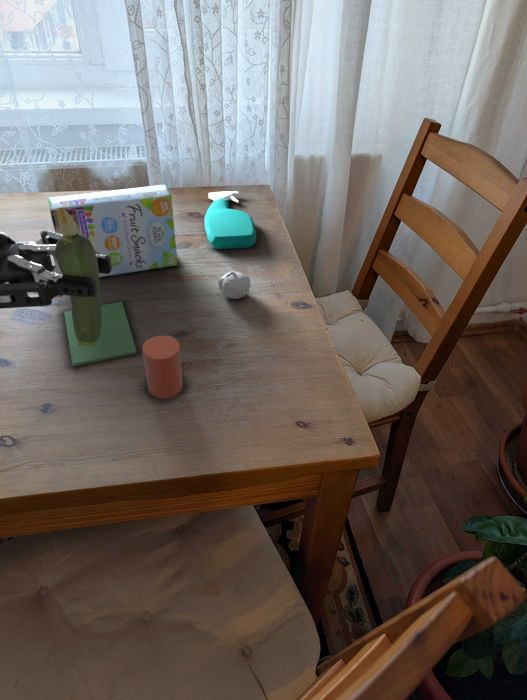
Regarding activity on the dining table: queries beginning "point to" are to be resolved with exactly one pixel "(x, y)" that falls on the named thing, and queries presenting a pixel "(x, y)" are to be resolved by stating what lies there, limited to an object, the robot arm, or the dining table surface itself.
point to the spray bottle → (228, 223)
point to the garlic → (234, 284)
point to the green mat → (103, 337)
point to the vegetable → (80, 261)
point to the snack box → (124, 226)
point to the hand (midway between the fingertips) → (102, 276)
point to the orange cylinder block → (163, 366)
